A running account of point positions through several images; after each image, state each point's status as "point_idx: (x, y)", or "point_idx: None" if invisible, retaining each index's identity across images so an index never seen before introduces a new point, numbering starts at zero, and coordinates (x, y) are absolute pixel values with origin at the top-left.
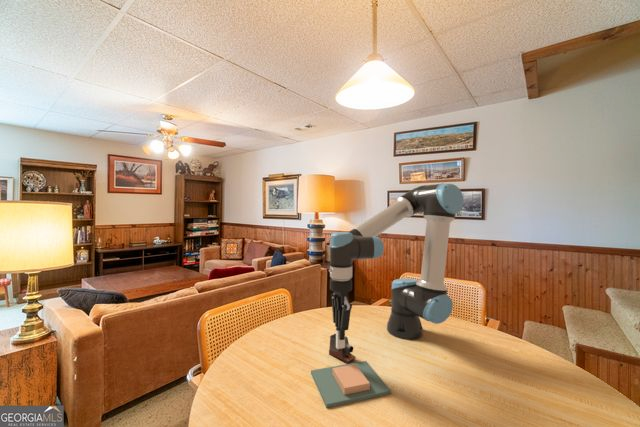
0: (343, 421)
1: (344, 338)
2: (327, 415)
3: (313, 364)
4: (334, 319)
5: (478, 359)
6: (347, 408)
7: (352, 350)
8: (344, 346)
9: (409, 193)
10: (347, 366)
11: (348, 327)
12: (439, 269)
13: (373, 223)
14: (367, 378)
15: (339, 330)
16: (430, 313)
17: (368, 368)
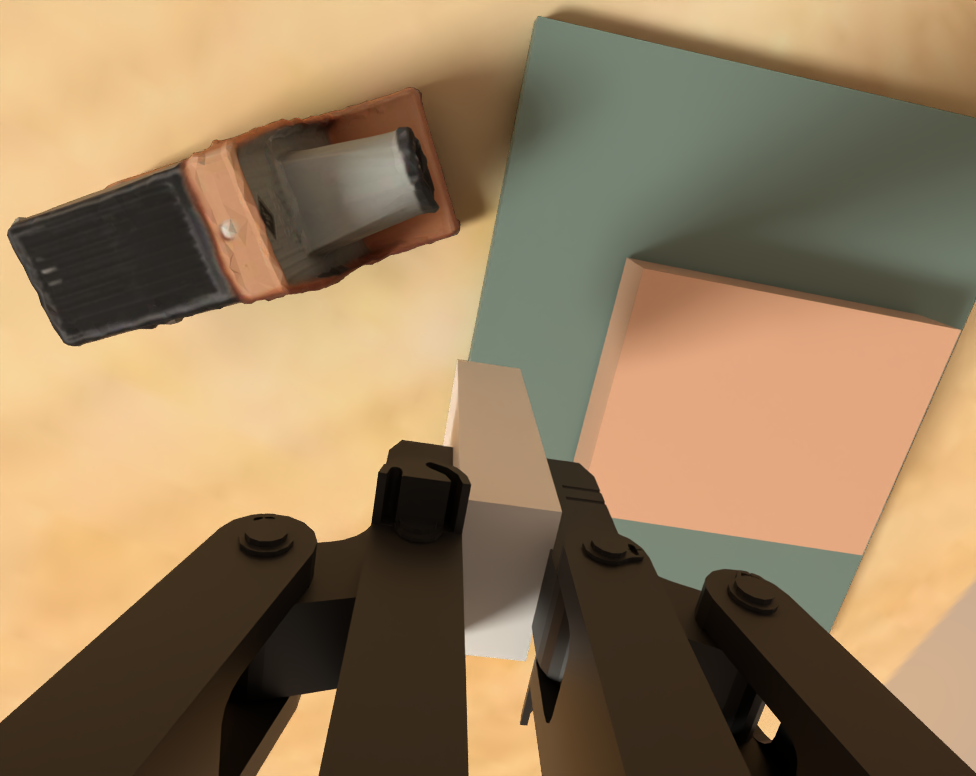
0: (954, 603)
1: (592, 477)
2: (857, 658)
3: (307, 521)
4: (272, 747)
5: None
6: (894, 533)
7: (419, 149)
8: (521, 382)
9: None
10: (631, 370)
11: (823, 629)
12: None
13: None
14: (791, 225)
15: (532, 614)
16: None
17: (670, 96)
